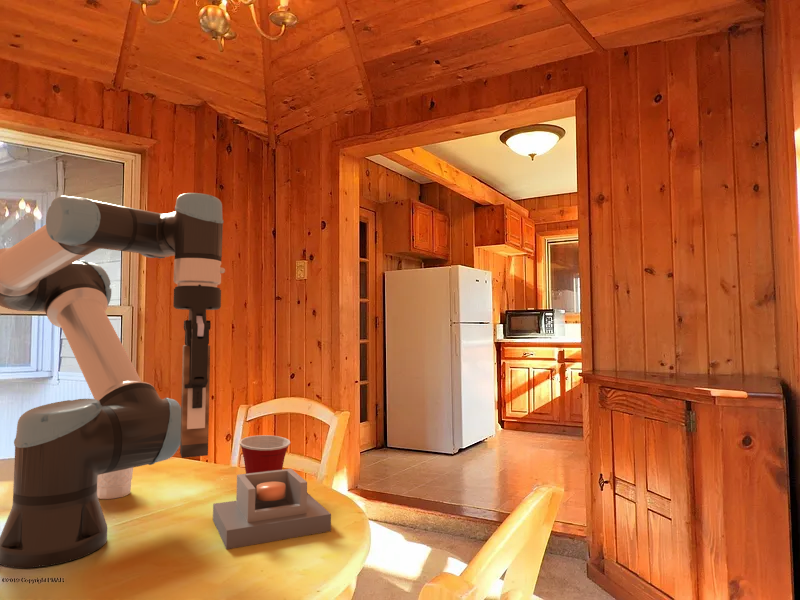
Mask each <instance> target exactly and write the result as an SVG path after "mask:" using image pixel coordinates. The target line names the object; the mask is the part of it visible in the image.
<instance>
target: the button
mask: <svg viewBox="0 0 800 600" xmlns="http://www.w3.org/2000/svg"><path fill="white" fill-rule="evenodd" d="M285 490H286V484H285V483H283V482H264V483H260V484H258V485H257V490H256V498H257V499H258V500H261V501H275V500H280V499H283V498H284V497H285Z"/></svg>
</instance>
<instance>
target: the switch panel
mask: <svg viewBox="0 0 800 600" xmlns="http://www.w3.org/2000/svg"><path fill="white" fill-rule="evenodd" d="M264 482H283V483H285V484H286V490H285V497H284V498H283V499H280V500H275V501H261V500H258V499H257V498H256V490H257V485H258V484H260V483H264ZM235 498H236V500H231V501H224V502H216V503H213V505H212V521H213V523H214V525H215V528H216V530H217V533H218V534H219V537H220V539H221V540H222V543H223V545H224V548H225V549H226V550H229V549H231V550H232V549H235V548H236V549H237V548H241V547H248V546H253V545H259V544H264V543H270V542H271V543H272V542H277V541H281V540H282V539H283V540H288V539H287V538H289V539H293V537H294V538H299V537H298V536H300V537H305V536H304V535H306V536H312V535H316V534H315V533H318V534H323V533H327V532H326V531H329V532H331V531H332V514H331V512H330V511H328V510H327V509H326V508H325V507H324V506H323V505H322V504H320V503H319V502H318V501H317V500H316V499H315V498H314V497H313V496H311V494H309V492H308V482H307V480H305V479H304V478H303V477H302V476H301V475H300V474H298V473H297V472H296V471H295V470H294V469H292V468H285V469H283V468H282V470H275V471H266V472H257V473H248V474H246V473H238V474H236V497H235ZM322 532H323V533H322ZM311 534H312V535H311Z"/></svg>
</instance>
